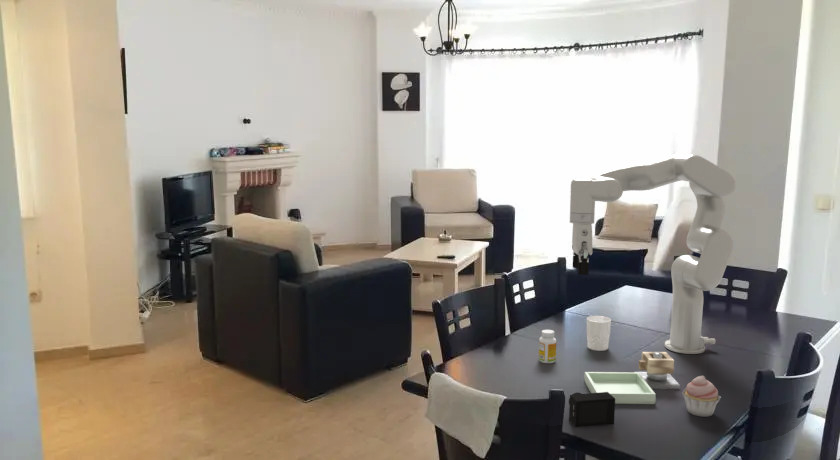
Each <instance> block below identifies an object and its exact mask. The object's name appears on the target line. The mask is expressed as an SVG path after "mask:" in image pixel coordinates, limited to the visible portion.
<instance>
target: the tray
mask: <svg viewBox="0 0 840 460" xmlns="http://www.w3.org/2000/svg"><path fill="white" fill-rule="evenodd" d="M638 372H639V371H634V372H624V371H621V372H619V371H584V377H583V379H584V383H585V385H586V386H587V388H588V390H589V391H590V392H589V393H600V392H608V393H609V394H611V395H612V396H613V397H614V398H615V404H616V405H617V404H629V405H630V404H631V405H633V404H634V405H638V404H639V405H643V404H644V405H655V404H656V395H657V394H656V393H655V391H654V389H651V388H650V386H649V385H648V384H647V383H646V381H645V380H644V379H643V378H642V376H641V375H640V374H639V373H638Z"/></svg>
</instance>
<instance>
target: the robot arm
mask: <svg viewBox="0 0 840 460" xmlns="http://www.w3.org/2000/svg"><path fill="white" fill-rule="evenodd" d="M681 181H685V182H688V183H689V187H690V189H691V191H692V192H693V195H694V196H695V199H696V203H697V204H696V211H695V213H694V218H693V220H692V222H691V225H690V228H689V230H688V234H687V235H686V236H687V237H686V241H685V242H686V246H687V248H688V249H689V250H691V251H692V252H694V253H696V254H697V253H698V254H699V255H700V256H699V257H698V256H694V255H691V254H684V255H683V254H682V255H679V256H678V257H676V258H675V260H674V261H673V262H672V264H671V269H670V271H671V273H670V274H671V276H670V277H671V283H672V298H671V299H672V300H671V313H670V314H671V316H670V317H671V318H670V332H669V333H670V334H669V339H668V340H665V341H664V347H665V348H666V349H668V350H669V351H672V352H674V353H679V354H685V355H697V354H698V355H699V354H702V353H704V352H705V351H706V345H716V344H717V343H716V339H715V338H709V337H708V336H703V335H702V324H703V311H704V310H703V309H704V308H703V307H704V292H709V291H712V290H714V289H716V288H717V286H718V285H719V284H720V282H721V281H722V279H723V277H724V274H725V271H726V268H727V266H728V263H729V261H730V257H731V255H732V252H733V250H734V249H733V248H734V242H733V241H734V239H733V238H732V235H731V233H729V232H728V231H727V230H725V229H723V228H721V227H722V225H723V220H724V217H725V213H726V205H725V201H724V199H727V198H728V197H730V196H731V195H732V194H733V193H734V192H735V190H736V180H735V178H734V176H733V175H732V174H731V173H730V172H729V171H727V170H725V169H724V168H722V167H720V166H718V165H716V164H715V163H714V162H711V161H710V160H708V159H706V158H704V157H703V156H700V155H698V154H691V153H690V154H689V153H676V154H672V155H668V156H665V157H662V158H658V159H655V160H652V161H649V162H646V163H640V164H636V165H632V166H627V167H622V168H617V169H614V170H609V171H606V172H602V173H600V174H596V175H594V176H592V177H589V178H586V177H585V178H584V177H580V178H574V179H572V181H571V182H570V196H569V197H570V199H569V201H570V202H569V203H570V205H569V206H570V207H569V223H570V224H572V236H571V237H572V238H571V244H572V245H571V246H572V247H571V248H572V251H573V252H572V253H573V254H572V268H573V269H577V275H579V276H589V270H590V267H589V265H590V262H589V259H590V258H589V255H590V256H592V254H593V224H594V223H595V214H596V213H595V212H596V209H595V208H596V206H595V205H596V202H603V203H613V202H616V201H618V200H619V199H621V197H622V196H623V193H624V192H627V191H629V192H630V191H650V190H654V189H657V188H659V187H663V186H667V185H669V184H672V183H673V184H674V183H676V182H681Z"/></svg>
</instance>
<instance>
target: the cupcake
mask: <svg viewBox="0 0 840 460" xmlns="http://www.w3.org/2000/svg"><path fill="white" fill-rule="evenodd" d="M682 396H683V398H684V402H685V406H686V410H687V412H688V413H689V414H692V415H694V416H697V417H705V418H706V417H707V418H708V417H711V416H712V415H713V414H714V412H715V410H716V407H717V404H718V403H719V402H720V400H721V398H722V397H721V395H719V391H718V389H717V388H716V387H715V385H714V384H713V382H710V381H709V380H708V379H706V377H705V376H704V375H699V376H696V377H695V378H693V379H692V380H691V382H688V383H687V385H686V387H685V389H683V391H682Z"/></svg>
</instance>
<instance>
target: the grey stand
mask: <svg viewBox="0 0 840 460" xmlns="http://www.w3.org/2000/svg"><path fill="white" fill-rule="evenodd" d="M653 352H654V354H653V358H655V359H662V353H660V352H661V351H653ZM637 372H638V373H639V374H640V375H641V376H642V378H643V379H644V380H645V381H646V383H647V384H648V385H649V386H650V388H651V389H652V390H681V389H680V388H681V385H680V384H679V382H678V381H677V380H676V379H675V378H674V377H673V376H672V375H671V374H649V373H648V372H647V371H637Z"/></svg>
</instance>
